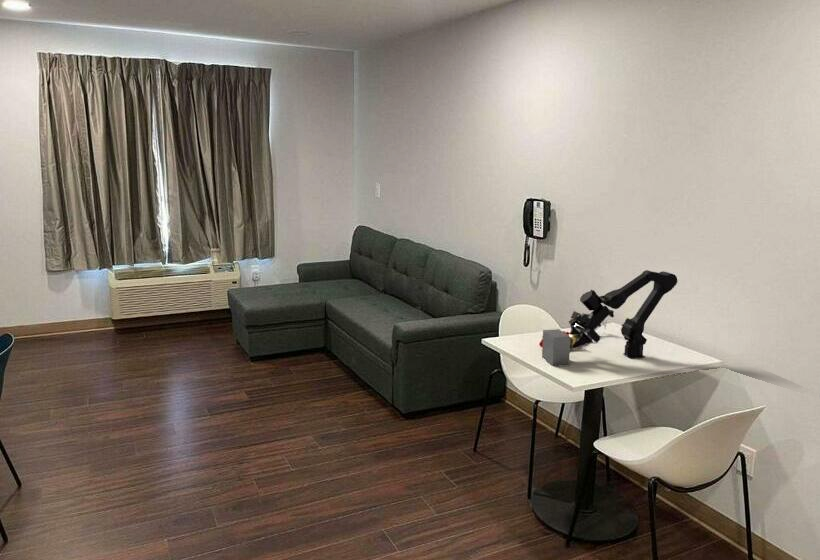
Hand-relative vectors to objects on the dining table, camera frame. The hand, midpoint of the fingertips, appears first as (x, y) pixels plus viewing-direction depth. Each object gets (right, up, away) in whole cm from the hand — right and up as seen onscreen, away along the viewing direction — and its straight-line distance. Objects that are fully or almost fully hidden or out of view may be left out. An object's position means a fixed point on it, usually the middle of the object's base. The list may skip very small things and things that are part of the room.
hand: (569, 345), depth 262 cm
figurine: (+3, -3, +22) cm, 22 cm away
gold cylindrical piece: (-1, -2, 0) cm, 2 cm away
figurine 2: (+21, +1, +39) cm, 45 cm away
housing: (-6, -7, 0) cm, 9 cm away
